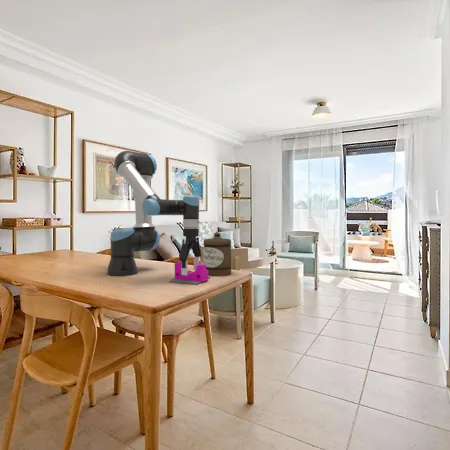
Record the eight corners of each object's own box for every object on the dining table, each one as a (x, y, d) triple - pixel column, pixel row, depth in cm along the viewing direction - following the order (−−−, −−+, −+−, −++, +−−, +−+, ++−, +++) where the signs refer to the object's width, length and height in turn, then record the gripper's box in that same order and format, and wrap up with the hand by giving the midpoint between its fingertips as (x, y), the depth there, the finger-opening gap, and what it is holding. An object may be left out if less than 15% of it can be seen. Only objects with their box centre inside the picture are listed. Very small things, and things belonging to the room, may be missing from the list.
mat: (169, 282, 151) (169, 281, 151) (184, 275, 166) (184, 274, 166) (197, 284, 146) (197, 283, 146) (210, 278, 162) (210, 276, 162)
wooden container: (197, 273, 172) (198, 232, 171) (214, 269, 185) (214, 230, 184) (220, 277, 164) (221, 233, 163) (236, 272, 176) (237, 232, 175)
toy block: (208, 279, 156) (208, 263, 155) (202, 281, 150) (202, 265, 150) (181, 276, 162) (181, 261, 161) (174, 278, 156) (174, 263, 156)
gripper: (187, 229, 142) (186, 277, 143) (208, 227, 166) (207, 268, 167) (171, 229, 144) (171, 276, 145) (194, 226, 168) (194, 267, 169)
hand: (190, 272), depth 156 cm, fingers open, 13 cm apart
